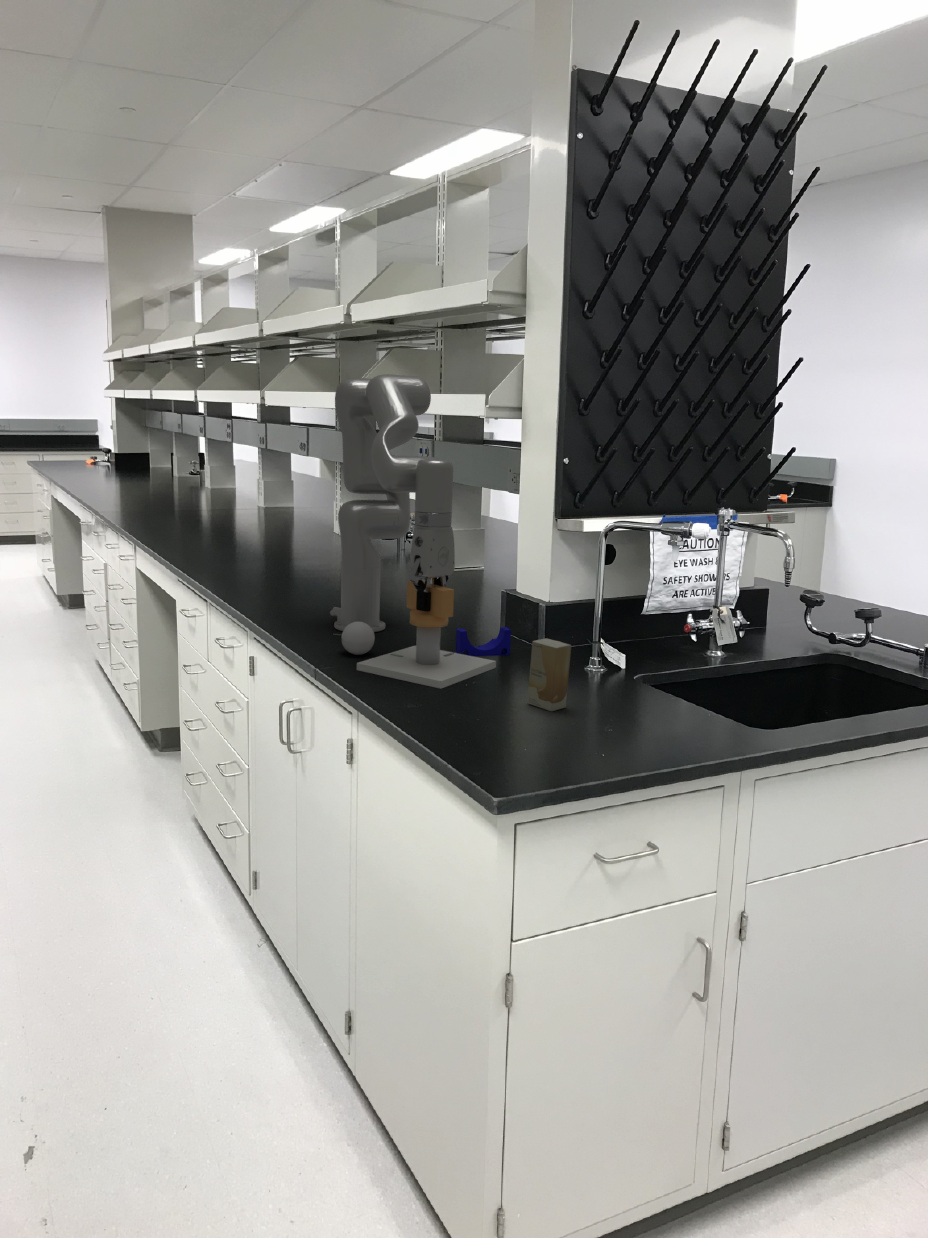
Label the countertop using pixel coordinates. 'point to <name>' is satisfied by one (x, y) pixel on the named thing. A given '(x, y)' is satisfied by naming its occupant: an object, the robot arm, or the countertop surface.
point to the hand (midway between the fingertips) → (430, 608)
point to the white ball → (358, 638)
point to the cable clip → (489, 649)
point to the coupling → (439, 606)
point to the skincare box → (549, 674)
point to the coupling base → (427, 671)
